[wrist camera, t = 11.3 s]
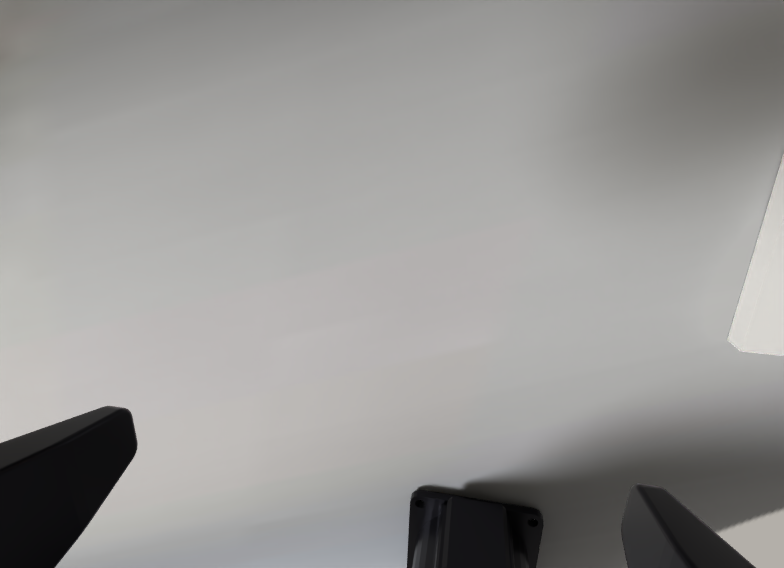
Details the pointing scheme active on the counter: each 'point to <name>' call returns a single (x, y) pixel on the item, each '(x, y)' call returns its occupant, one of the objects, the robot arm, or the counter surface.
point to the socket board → (764, 285)
